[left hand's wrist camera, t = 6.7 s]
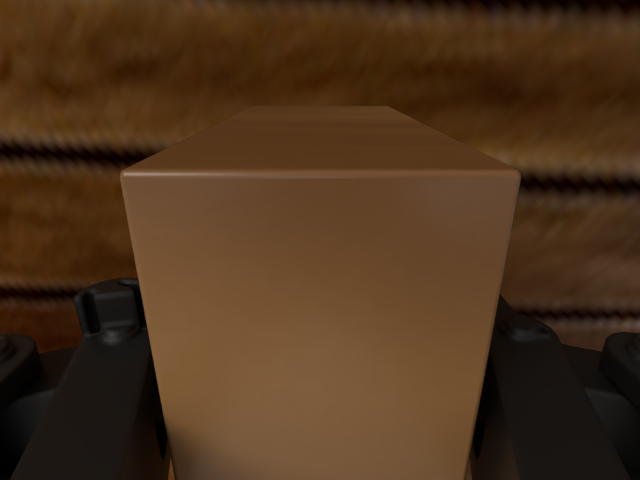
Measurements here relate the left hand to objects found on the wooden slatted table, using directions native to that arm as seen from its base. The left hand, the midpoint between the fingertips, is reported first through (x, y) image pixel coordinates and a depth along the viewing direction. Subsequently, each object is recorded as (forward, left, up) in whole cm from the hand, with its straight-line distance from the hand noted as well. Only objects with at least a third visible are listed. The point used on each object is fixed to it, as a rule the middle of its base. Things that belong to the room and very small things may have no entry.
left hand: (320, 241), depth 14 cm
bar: (0, +8, -1) cm, 8 cm away
